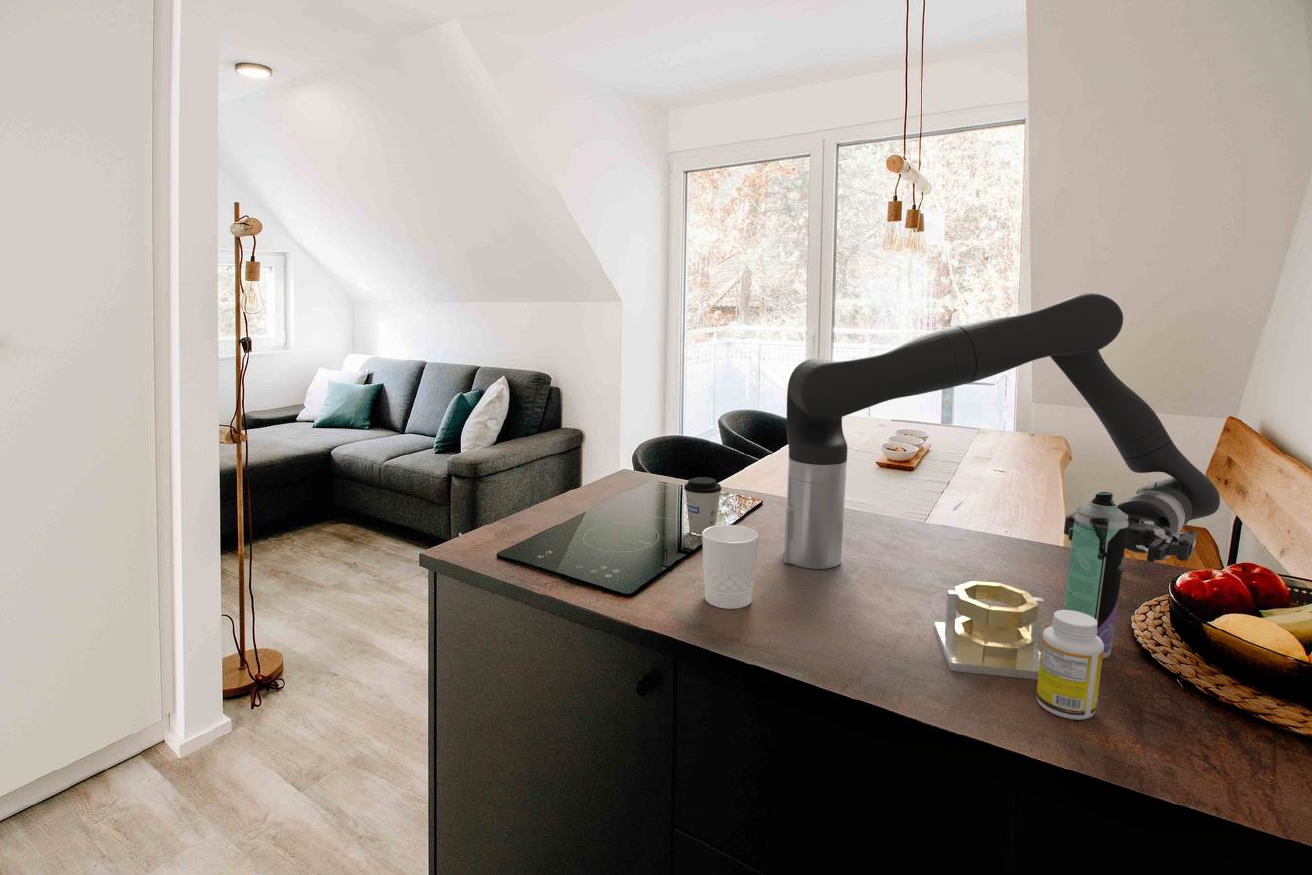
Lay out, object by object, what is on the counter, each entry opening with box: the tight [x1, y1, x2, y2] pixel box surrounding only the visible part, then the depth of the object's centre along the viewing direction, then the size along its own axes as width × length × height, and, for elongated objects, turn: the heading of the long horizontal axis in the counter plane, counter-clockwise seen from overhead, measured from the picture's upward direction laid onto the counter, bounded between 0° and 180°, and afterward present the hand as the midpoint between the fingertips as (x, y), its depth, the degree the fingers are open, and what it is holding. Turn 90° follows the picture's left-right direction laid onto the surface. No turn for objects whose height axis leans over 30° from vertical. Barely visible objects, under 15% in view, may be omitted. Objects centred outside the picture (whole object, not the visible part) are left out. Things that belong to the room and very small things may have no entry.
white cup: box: [701, 524, 759, 610], centre depth 101 cm, size 8×8×10 cm
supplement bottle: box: [1035, 609, 1104, 721], centre depth 74 cm, size 6×6×10 cm
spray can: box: [1063, 491, 1129, 659], centre depth 86 cm, size 6×6×20 cm
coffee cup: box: [683, 476, 722, 534], centre depth 131 cm, size 7×7×10 cm
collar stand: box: [933, 580, 1045, 681], centre depth 86 cm, size 11×11×8 cm
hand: (1111, 545), depth 90 cm, fingers open, 8 cm apart
